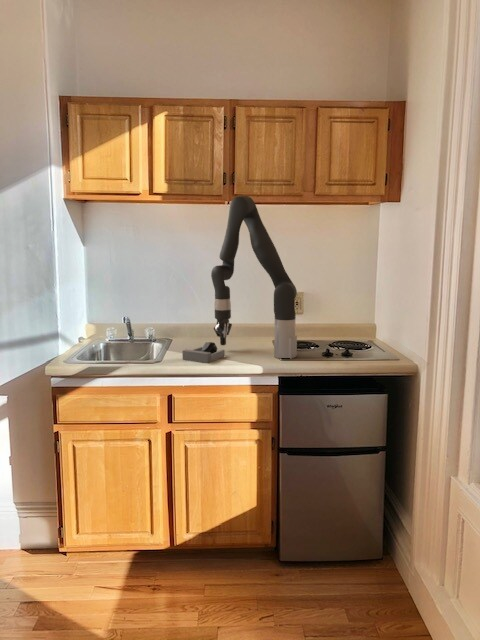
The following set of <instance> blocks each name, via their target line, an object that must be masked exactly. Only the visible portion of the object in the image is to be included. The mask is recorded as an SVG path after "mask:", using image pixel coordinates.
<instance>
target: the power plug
mask: <svg viewBox="0 0 480 640" xmlns="http://www.w3.org/2000/svg"><path fill="white" fill-rule="evenodd" d="M201 347H202V350H201V351H203V352H210V353H211V354H212V353H215V352H218V347H217V345H216V343H215V342H212V341H209V342H205V343H204V345H203V346H201Z"/></svg>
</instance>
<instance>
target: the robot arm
mask: <svg viewBox="0 0 480 640" xmlns="http://www.w3.org/2000/svg"><path fill="white" fill-rule="evenodd" d="M243 222H244V224H245V225H246V227H247V230H248V232H249V233H248V234H249V239H250V245H251V249H252V251H253V253H254V254H255V257H256V258H257V261H258V263H259V264H260V266H261V267H262V268H263V269H264V271H266V273H267V274H268V276H269V278H270V280H271V281H272V284H273V287H274V291H273V313H274V330H273V331H274V334H273V335H274V339H273V342H274V345H273V347H274V349H273V350H274V351H273V356H274V358H276V359H281V358H290V359H289V360H291V359H294V358H296V357H297V349H298V348H297V345H298V344H297V343H298V335H297V334H296V297H297V296H298V295H297V294H298V293H297V292H298V291H297V288H296V285H295V284H294V282H293V281H292V280H291V278H290V277H289V275H288V273H287V271H286V269H285V267H284V265H283V262H282V260H281V257H280V255H279V253H278V251H277V248H276V246H275V244H274V242H273V240H272V238H271V236H270V235H269V233H268V230H267V228H266V227H265V225H264V223H263V220H262V218H261V216H260V214H259V210H258V208H257V205H256V203H255V201H254V200H253V198H252V197H250V196H248V195H238V196H235V197H233V198H232V199H231V201H230V205H229V211H228V219H227V224H226V229H225V230H226V231H225V235H224V239H223V242H222V245H221V249H220V253H219V260H221V261H222V264H221V265H215V266H213V268H212V270H211V273H210V274H211V275H210V277H211V282H212V285H213V289H214V318H215V319H216V326H214V327H213V330H214V332H215V334H216V337H219V339H220V340H219V341H220V343H219V344H220V346H226V345H227V337H228V336H229V334H230V331H231V329H232V326H233V324H232V323H230V319H232V309H231V308H232V305H231V304H232V303H231V302H232V301H231V289H230V286H228V285H226V283H225V281H228V280H230V279H231V278H232V277H233V275H234V271H235V258H236V256H237V253H238V249H239V246H240V245H239V244H240V230H241V226H242V224H243Z"/></svg>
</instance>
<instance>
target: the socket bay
mask: <svg viewBox="0 0 480 640" xmlns="http://www.w3.org/2000/svg"><path fill="white" fill-rule="evenodd" d="M202 347H203V346H199V347H195V348H193V349H187V348H186V349H183V350H182V352H181V353H182V360H183V361H190V362H196V363H197V362H198V363H204V364H209V363H211V362H212V363H213V362H215V361H217V360H219V359H222V358H225V357H224V356H226V355H225V353H226V352H225V349H221V350H217V352H215V353H212V354H211V353H210V352H203V351H201V350H202Z"/></svg>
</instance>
